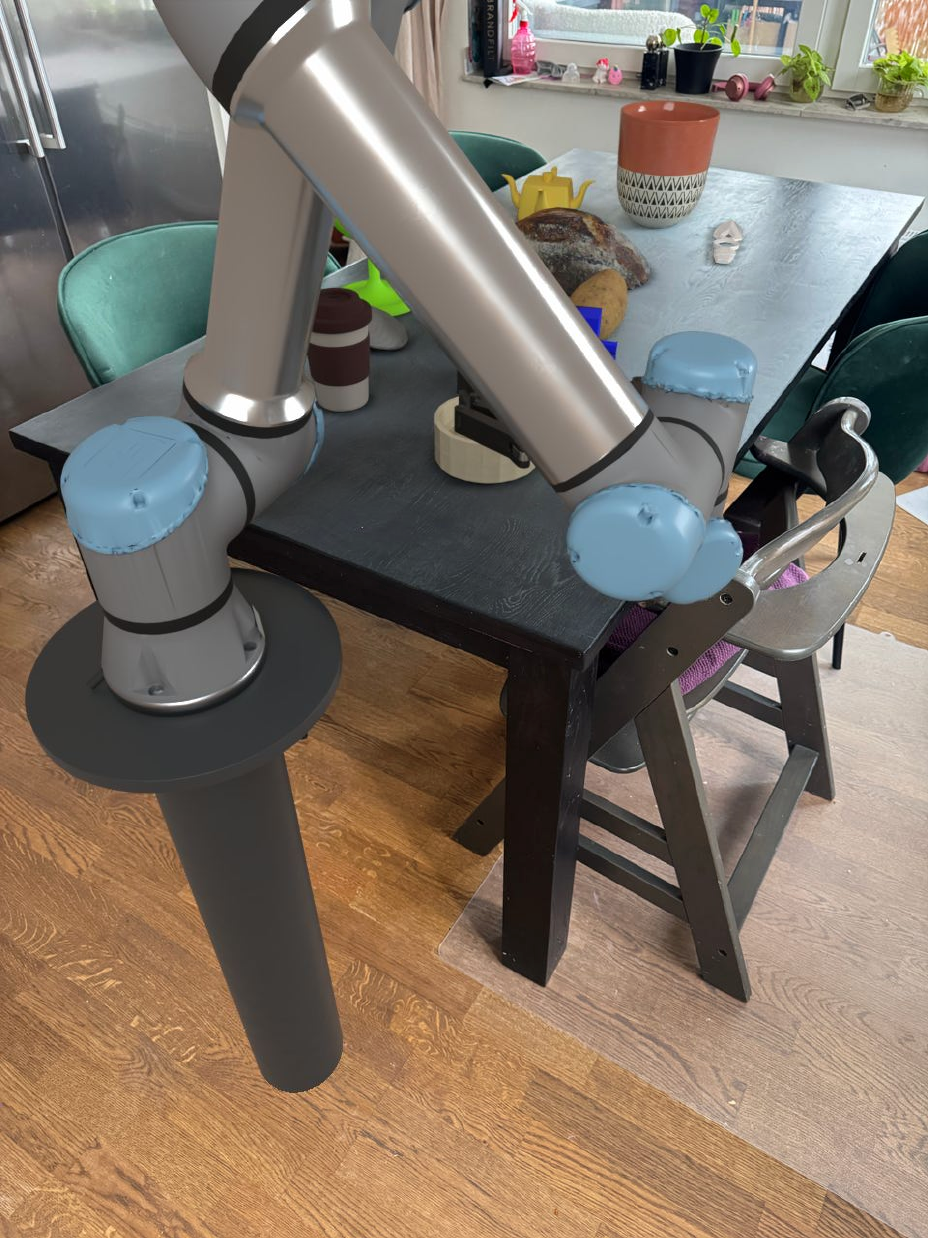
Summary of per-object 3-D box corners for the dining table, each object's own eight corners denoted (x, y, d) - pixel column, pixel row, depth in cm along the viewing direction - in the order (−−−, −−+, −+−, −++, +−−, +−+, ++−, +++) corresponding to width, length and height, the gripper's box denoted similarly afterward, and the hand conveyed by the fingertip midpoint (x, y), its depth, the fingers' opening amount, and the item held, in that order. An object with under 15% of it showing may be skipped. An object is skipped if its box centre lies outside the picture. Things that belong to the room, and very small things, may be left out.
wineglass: (341, 322, 144) (330, 207, 132) (321, 289, 155) (310, 181, 143) (432, 311, 148) (430, 198, 136) (407, 279, 159) (402, 173, 147)
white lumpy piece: (706, 262, 166) (706, 258, 165) (717, 220, 186) (717, 216, 185) (737, 265, 164) (738, 261, 164) (745, 222, 185) (746, 218, 184)
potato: (549, 349, 136) (553, 290, 130) (586, 315, 146) (592, 259, 140) (600, 360, 133) (607, 300, 127) (635, 325, 143) (642, 268, 137)
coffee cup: (350, 424, 117) (340, 316, 108) (294, 407, 121) (279, 301, 111) (391, 395, 124) (385, 291, 114) (336, 379, 128) (325, 277, 118)
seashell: (327, 343, 137) (363, 354, 131) (325, 306, 135) (362, 316, 128) (385, 336, 144) (422, 346, 138) (385, 300, 142) (423, 309, 135)
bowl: (479, 499, 103) (480, 455, 100) (414, 454, 111) (412, 412, 107) (560, 463, 110) (564, 421, 106) (493, 423, 118) (494, 382, 114)
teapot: (592, 224, 184) (596, 175, 177) (539, 236, 178) (541, 185, 172) (551, 207, 193) (554, 160, 187) (499, 218, 187) (500, 169, 181)
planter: (602, 234, 179) (614, 117, 165) (615, 207, 193) (627, 98, 179) (697, 242, 175) (718, 123, 161) (703, 214, 189) (722, 103, 175)
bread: (507, 237, 177) (508, 184, 171) (663, 257, 168) (671, 202, 162) (458, 281, 158) (458, 224, 152) (632, 306, 149) (640, 246, 143)
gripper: (479, 533, 75) (409, 421, 90) (726, 483, 81) (622, 386, 96) (481, 458, 70) (406, 352, 85) (743, 411, 76) (631, 321, 91)
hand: (520, 370), depth 91 cm, fingers open, 13 cm apart
